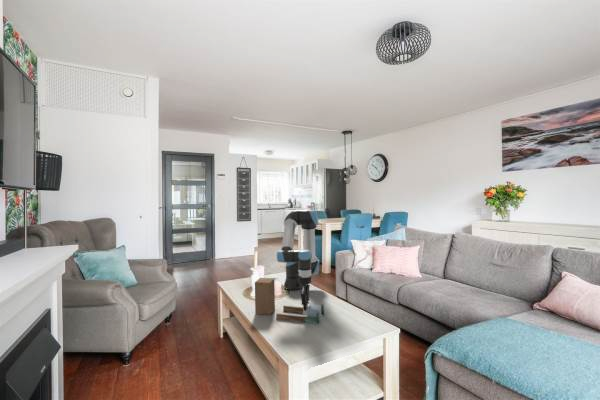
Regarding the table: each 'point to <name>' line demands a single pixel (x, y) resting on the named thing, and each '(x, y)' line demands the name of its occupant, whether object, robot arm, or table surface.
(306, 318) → the lane wall camera side
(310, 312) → the slate block
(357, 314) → the table surface
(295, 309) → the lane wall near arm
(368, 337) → the table surface
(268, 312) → the wooden block
